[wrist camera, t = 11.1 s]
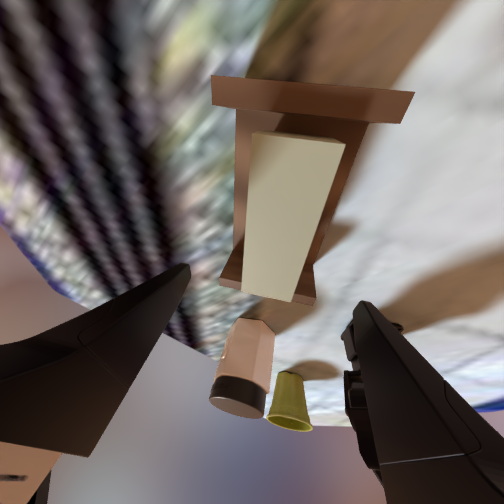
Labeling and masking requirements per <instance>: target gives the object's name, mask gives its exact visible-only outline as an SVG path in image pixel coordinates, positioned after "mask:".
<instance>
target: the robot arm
mask: <svg viewBox="0 0 504 504" xmlns="http://www.w3.org/2000/svg"><path fill="white" fill-rule="evenodd" d="M190 279H191V270H190V265H189V264H186V263H180V264H178V265H176V266H174V267H172V268H170V269H169V270H167V271H165V272H163V273H161V274H159V275H157V276H155V277H153V278H152V279H150V280H148V281H146V282H144V283H142V284H140V285H138V286H136V287H135V288H133V289H131V290H129V291H127V292H125V293H123V294H121V295H119V296H118V297H116V298H115V299H112V300H110V301H108V302H106V303H104V304H102V305H100V306H98V307H96V308H94V309H92V310H90V311H88V312H86V313H84V314H82V315H80V316H78V317H76V318H74V319H71V320H69V321H67V322H65V323H63V324H60V325H58V326H56V327H54V328H52V329H49V330H47V331H45V332H43V333H40V334H38V335H36V336H33V337H31V338H28V339H25V340H22V341H18V342H14V343H9V344H4V345H0V504H47V500H48V492H49V483H50V476H51V469H52V467H53V466H54V464H55V463H56V462H57V460H58V459H59V457H60V456H61V455H62V453H66V454H71V455H77V456H82V457H89V456H90V454H91V453H92V451H93V450H94V448H95V446H96V444H97V443H98V441H99V439H100V438H101V436H102V434H103V433H104V431H105V429H106V427H107V426H108V424H109V422H110V421H111V419H112V417H113V416H114V414H115V412H116V410H117V409H118V407H119V405H120V404H121V402H122V400H123V399H124V397H125V395H126V393H127V392H128V390H129V388H130V386H131V385H132V383H133V381H134V380H135V378H136V376H137V375H138V373H139V371H140V369H141V368H142V366H143V364H144V363H145V361H146V359H147V358H148V356H149V354H150V352H151V351H152V349H153V347H154V346H155V344H156V342H157V341H158V339H159V337H160V335H161V334H162V332H163V330H164V329H165V327H166V325H167V324H168V322H169V320H170V318H171V317H172V315H173V313H174V312H175V310H176V308H177V307H178V305H179V303H180V301H181V299H182V297H183V294H184V292H185V290H186V288H187V286H188V283H189V281H190ZM403 330H404V329H403V327H402V326H401V325H398V324H393V323H390V322H389V321H388V320H387V319H386V318H385V317H384V315H383V314H382V313H381V312H380V311H379V310H378V309H377V308H376V307H375V306H374V305H373V304H372V303H371V302H368V301H363V300H362V301H360V302H359V303H358V305H357V306H356V307H355V309H354V310H353V321H352V322H351V323H350V325H349V326H348V327H347V329H346V330H345V331H344V332H343V334H342V335H341V340H343V341H344V345H345V350H346V355H347V359H348V360H349V361H351V363H352V368H353V371H348V370H346V371H344V394H345V412H346V415H347V416H348V417H349V419H350V422H351V425H352V427H353V429H354V431H355V432H356V434H357V439H358V445H359V451H360V454H361V456H362V458H363V460H364V462H365V463H366V465H367V467H368V468H369V469H372V470H373V472H374V473H375V475H376V477H377V478H378V479H379V481H380V483H381V485H382V486H383V488H384V491H385V496H386V501H387V504H504V438H503V437H502V436H501V435H500V434H499V433H498V432H497V431H496V430H495V429H494V428H493V427H492V426H491V425H490V424H489V423H488V422H487V421H486V420H484V418H482V416H480V415H479V414H478V413H477V412H476V411H475V410H474V409H473V408H472V407H471V406H470V405H469V404H468V403H467V402H466V401H465V400H464V399H463V398H462V397H461V396H460V395H459V394H458V393H457V391H456V390H455V389H454V388H453V387H452V386H451V385H450V384H449V383H448V382H447V381H446V380H444V378H443V377H442V376H441V375H440V374H439V373H438V372H437V371H436V370H435V369H434V368H433V367H432V366H431V364H430V363H429V362H428V361H427V360H426V359H425V358H424V357H423V356H422V355H421V354H420V353H419V352H418V351H417V350H416V349H415V348H414V347H413V346H412V345H411V344H410V343H409V342H408V341H407V339H406V338H405V337H404V336H403V335H402V334H401V332H402V331H403Z"/></svg>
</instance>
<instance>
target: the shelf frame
mask: <svg viewBox="0 0 504 504" xmlns="http://www.w3.org/2000/svg"><path fill="white" fill-rule="evenodd" d="M211 87H212V105H216V106H222V107H228V108H233V109H236V136H235V181H234V226H233V251H232V253H231V255H230V257H229V259H228V261H227V263H226V265H225V267H224V269H223V271H222V273H221V275H220V277H219V282H220V286H225V287H229V288H234V289H238V290H241V285H242V271H243V257H244V242H245V228H246V214H247V199H248V185H249V170H250V156H251V142H252V133H255V132H259V131H262V130H269V131H277V132H286V133H295V134H304V135H313V136H322V137H330V138H334V139H336V140H338V141H340V142H342V143H344V144H346V145H345V148H344V151H343V154H342V157H341V160H340V163H339V165H338V168H337V171H336V174H335V177H334V180H333V183H332V185H331V188H330V191H329V194H328V197H327V200H326V203H325V206H324V208H323V211H322V214H321V217H320V220H319V223H318V226H317V229H316V231H315V234H314V237H313V240H312V243H311V246H310V249H309V251H308V254H307V257H306V260H305V263H304V266H303V269H302V272H301V274H300V277H299V280H298V283H297V286H296V289H295V292H294V294H293V297H292V300H291V301H293V302H298V303H303V304H307V305H312V306H313V304H314V302H315V300H316V290H315V281H314V271H313V264H314V262H315V259H316V256H317V254H318V251H319V249H320V246H321V244H322V241H323V239H324V236H325V233H326V231H327V228H328V226H329V223H330V221H331V218H332V216H333V213H334V210H335V208H336V205H337V203H338V200H339V198H340V195H341V193H342V190H343V188H344V185H345V182H346V180H347V177H348V175H349V172H350V170H351V167H352V165H353V162H354V159H355V157H356V154H357V152H358V149H359V147H360V144H361V142H362V139H363V136H364V134H365V131H366V129H367V126H368V124H369V123H395V124H400V123H401V121H402V119H403V117H404V115H405V113H406V110H407V108H408V106H409V104H410V102H411V100H412V98H413V96H414V94H415V92H410V91H397V90H385V89H373V88H360V87H348V86H336V85H324V84H311V83H299V82H287V81H275V80H262V79H250V78H238V77H226V76H213V75H211Z"/></svg>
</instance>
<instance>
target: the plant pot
mask: <svg viewBox="0 0 504 504" xmlns="http://www.w3.org/2000/svg"><path fill="white" fill-rule="evenodd" d="M266 418H267V420H268V421H269V422H271V423H272V424H275V425H277V426H280V427H282V428H286V429H290V430H296V431H311V430H312V425H311V424H310V418H309V415H308V412H307V406H306V399H305V392H304V385H303V379H302V377H300V376H299V375H297V374H295V373H293V374H289V373H288V372H281V373H279V374H278V375H277V380H276V385H275V390H274V395H273V400H272V406H271V407H270V411H269V414H268V415H267V417H266Z"/></svg>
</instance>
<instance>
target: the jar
mask: <svg viewBox="0 0 504 504" xmlns="http://www.w3.org/2000/svg"><path fill="white" fill-rule="evenodd" d="M274 342H275V333H274V332H273V331H272V330H271V329H270V328H269V327H268V326H267V325H266V324H265V323H264V322H263V321H261V320H253V319H245V318H238V319H237V320H236V322H235V323H234V324H233V325H232V327H231V328H230V331H229V334H228V337H227V340H226V343H225V346H224V349H223V352H222V355H221V359H220V362H219V365H218V368H217V371H216V374H215V377H214V384H213V386H212V389H211V394H210V397H209V401H210V403H211V404H212V405H214V406H215V407H217V408H219V409H221V410H223V411H225V412H228V413H231V414H233V415H237V416H241V417H246V418H253V419H257V418H261V417H263V415H264V409H265V400H266V394H268V393H269V390H270V381H271V371H272V362H273V352H274Z"/></svg>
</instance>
